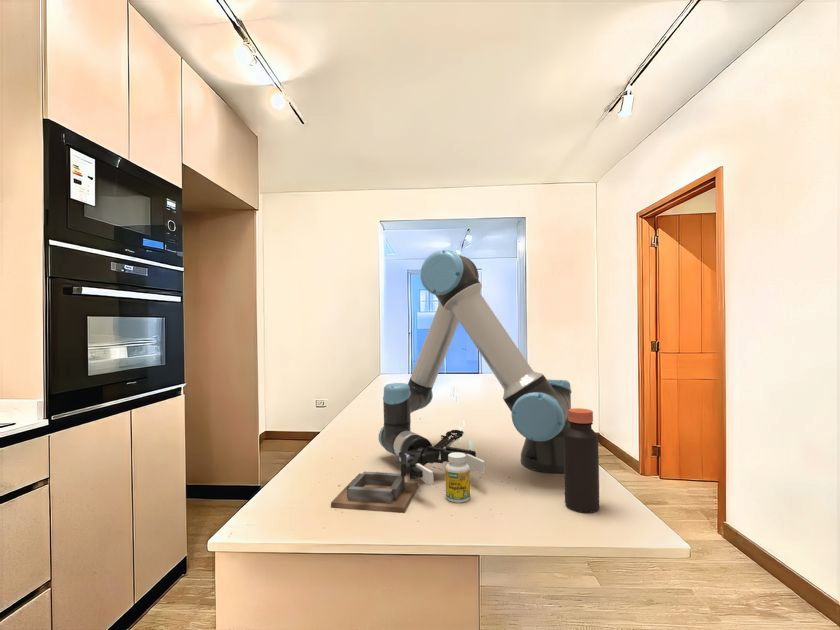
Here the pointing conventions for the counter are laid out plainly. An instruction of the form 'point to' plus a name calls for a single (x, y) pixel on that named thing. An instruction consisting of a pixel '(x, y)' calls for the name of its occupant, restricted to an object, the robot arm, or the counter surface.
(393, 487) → the collar board
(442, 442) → the knife
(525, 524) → the counter surface
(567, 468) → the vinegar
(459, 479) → the supplement bottle
